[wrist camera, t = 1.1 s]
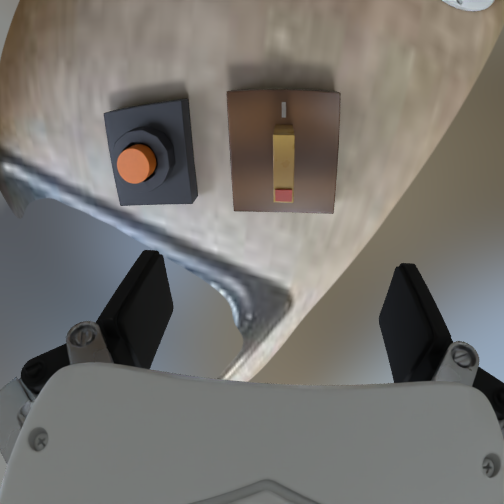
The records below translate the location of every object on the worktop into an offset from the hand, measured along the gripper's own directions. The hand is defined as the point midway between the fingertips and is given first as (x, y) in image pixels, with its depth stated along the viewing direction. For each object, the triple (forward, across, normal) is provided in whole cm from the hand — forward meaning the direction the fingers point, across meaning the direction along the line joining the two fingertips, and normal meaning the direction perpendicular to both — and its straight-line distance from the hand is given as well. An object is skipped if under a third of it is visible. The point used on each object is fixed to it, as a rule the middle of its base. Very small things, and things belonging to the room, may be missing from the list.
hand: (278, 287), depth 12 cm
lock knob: (+18, 0, -1) cm, 18 cm away
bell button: (+17, +14, 0) cm, 22 cm away
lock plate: (+21, 0, -1) cm, 21 cm away
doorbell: (+21, +14, 0) cm, 25 cm away
